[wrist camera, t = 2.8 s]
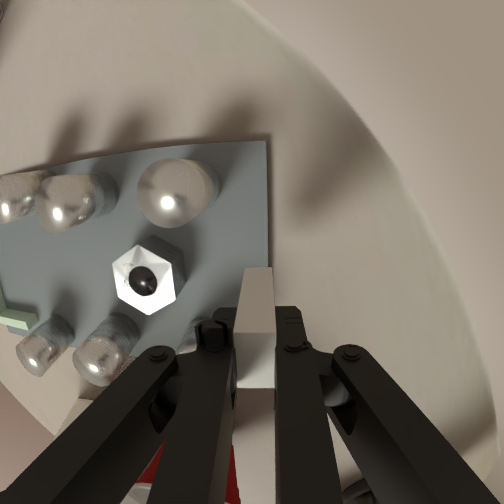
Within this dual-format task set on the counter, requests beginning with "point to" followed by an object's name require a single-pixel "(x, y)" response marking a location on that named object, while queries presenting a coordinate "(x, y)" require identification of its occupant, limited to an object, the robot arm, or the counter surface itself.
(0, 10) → the can
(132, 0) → the counter surface
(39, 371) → the spacers
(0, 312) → the parts pocket
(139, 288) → the nut
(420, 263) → the counter surface
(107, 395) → the robot arm
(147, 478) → the plastic cup
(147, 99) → the counter surface
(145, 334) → the board
